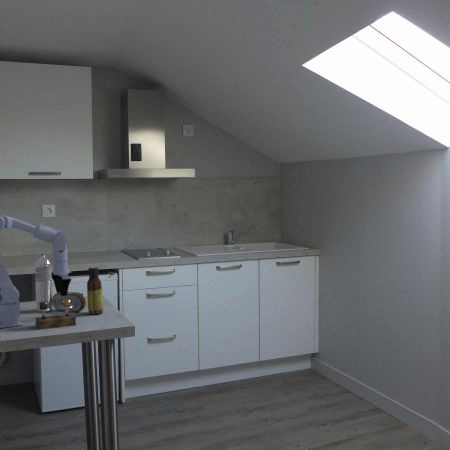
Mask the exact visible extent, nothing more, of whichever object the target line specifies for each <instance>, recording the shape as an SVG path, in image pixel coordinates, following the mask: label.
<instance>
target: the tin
mask: <svg viewBox="0 0 450 450" xmlns="http://www.w3.org/2000/svg"><path fill="white" fill-rule="evenodd" d="M65 299H70V300H71V305H73V308H72V309H68V311H69V313H79V312H81V311H83V310H84V309H85V308H86V298H85V296H84V295H83V294H81V293H80V292H77V291H76V292H75V291H68V292H67V296H61V293H60V292H59V293H57V292H56V293H55V294H54V295H52V307H54V308H55V310H57V311H59V312H65V309H61V308H60V306H62V305H63V300H65Z"/></svg>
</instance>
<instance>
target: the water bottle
mask: <svg viewBox="0 0 450 450" xmlns="http://www.w3.org/2000/svg"><path fill="white" fill-rule="evenodd" d="M52 264H53V262H51V260H50V259H49V258H48V257H47V256H46V253H45V252H42V253H40V256H39V258H37V259H36V261H35V263H34V267H35V280H34V281H35V282H34V283H35V285H34V286H35V309H36V311H37V309H38V308H40V305H39V302H48V307H49V308H50V311H49V312H51V311H53V303H52V298H53V279H52V277H51V276H53V274H52V267H53V266H52ZM45 313H48V311H46V312H45Z"/></svg>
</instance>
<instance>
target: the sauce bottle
mask: <svg viewBox="0 0 450 450" xmlns="http://www.w3.org/2000/svg"><path fill="white" fill-rule="evenodd" d="M88 272H89V273H88V281H87V282H86V293H87V295H86V296H87V310H88V313H89V315H101V314H103V313H104V302H103V301H104V300H103V286H102V281H101V280H100V277H99V267H98V266H90V267H88Z"/></svg>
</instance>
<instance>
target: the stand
mask: <svg viewBox="0 0 450 450" xmlns="http://www.w3.org/2000/svg"><path fill="white" fill-rule="evenodd" d="M34 318H35V320H34V321H35V326H36V328H37V329H38V330H46V329H55V328H62V327H64V326H65V327H70V326H76V325H77V321H76V318H77V317H76V316H75V315H74V314H73V313H72V312H69V316H65V313H63V314H62V313H61V314H53V315H45V319H42V316H38V317H37V316H36V317H34Z"/></svg>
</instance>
